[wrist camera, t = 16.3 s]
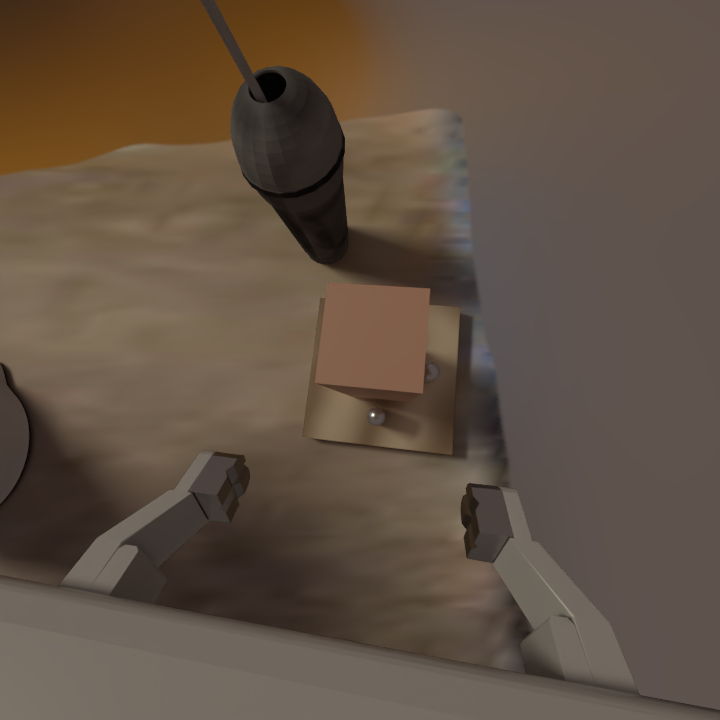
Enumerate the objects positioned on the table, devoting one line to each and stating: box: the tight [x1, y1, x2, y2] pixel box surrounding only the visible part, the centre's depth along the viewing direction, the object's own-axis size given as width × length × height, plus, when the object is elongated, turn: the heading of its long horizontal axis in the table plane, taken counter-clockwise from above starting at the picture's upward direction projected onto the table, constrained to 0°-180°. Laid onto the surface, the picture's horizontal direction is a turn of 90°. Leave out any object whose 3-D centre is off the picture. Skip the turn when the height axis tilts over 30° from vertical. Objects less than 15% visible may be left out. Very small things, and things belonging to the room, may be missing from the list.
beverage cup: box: [201, 0, 348, 264], centre depth 21 cm, size 7×7×20 cm
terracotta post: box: [315, 283, 430, 402], centre depth 21 cm, size 5×5×13 cm
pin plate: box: [302, 298, 460, 455], centre depth 26 cm, size 13×13×4 cm
